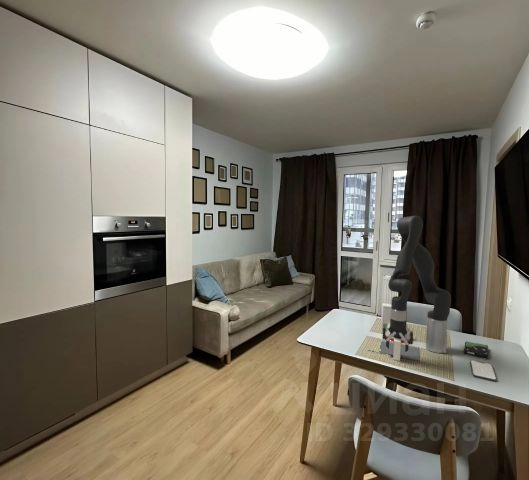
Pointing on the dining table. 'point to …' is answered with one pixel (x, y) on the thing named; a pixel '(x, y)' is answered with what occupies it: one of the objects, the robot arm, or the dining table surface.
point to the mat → (410, 354)
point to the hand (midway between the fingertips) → (396, 349)
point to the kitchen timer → (393, 337)
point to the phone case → (483, 371)
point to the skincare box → (385, 315)
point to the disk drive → (476, 350)
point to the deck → (397, 349)
